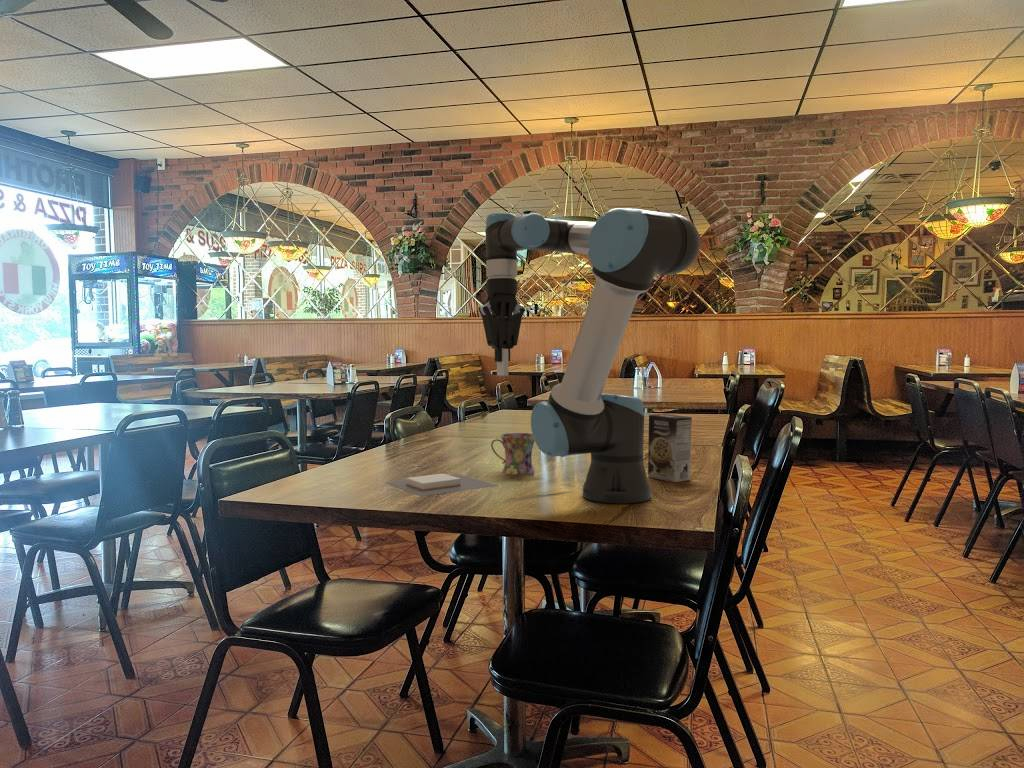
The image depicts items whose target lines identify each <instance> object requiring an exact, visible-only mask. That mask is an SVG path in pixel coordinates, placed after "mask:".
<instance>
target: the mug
mask: <svg viewBox="0 0 1024 768" xmlns="http://www.w3.org/2000/svg"><path fill="white" fill-rule="evenodd" d="M500 438H501V439H499V438H497V439H496V438H495V439H493V440H492V441H491V443H490V447H491V450H492V452H493V453H494V455H495V456H496V457H498V458H499V459H500V460H502V465H504V466H503V469H502V473H504V474H509V475H527V476H533V475H534V474H536V472H535V470H534V467H533V462H532V460H533V459H532V453H533V448H534V444H535V440H534V438H533V434H532V433H530V432H508V433H507V432H506V433H501V434H500ZM494 442H500V444H502V446H503V448H504V453H505V454H504V455H505V457H502V456H501V455H499V454H498V452H497V451H496V450H495V448H494Z"/></svg>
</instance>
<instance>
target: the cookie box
mask: <svg viewBox="0 0 1024 768" xmlns="http://www.w3.org/2000/svg"><path fill="white" fill-rule="evenodd" d="M692 421H693V420H692V417H690V416H684V415H683V416H682V415H677V414H676V415H675V414H668V413H662V414H660V413H658V414H657V413H655V414H649V415H648V442H647V443H648V445H647V446H648V449H647V450H648V451H647V452H648V458H647V460H648V461H647V478H652V479H656V480H660V481H666V482H670V483H679V482H684V481H685V482H686V481H690V479H691V450H692V447H691V446H692V445H691V444H692Z"/></svg>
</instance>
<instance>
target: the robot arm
mask: <svg viewBox="0 0 1024 768" xmlns="http://www.w3.org/2000/svg"><path fill="white" fill-rule="evenodd" d="M485 221H486V222H485V230H484V231H485V258H486V261H485V262H486V263H485V264H486V266H485V268H486V269H485V272H486V277H487V278H488V279H487V280H486V283H485V284H486V286H485V287H486V295H487V299H486V303H485V304H484V305H482V306H479V307H477V308H478V309H477V310H478V312H479V314H480V315H481V318H482V325H483V328H484V335H485V338H486V343H487V346H488V347H491V349H493V350H494V362H496V376H500V377H501V376H504V377H506V376H507V377H508V376H510V375H509V362H511V349H513V348H514V347H516V346H517V345H518V341H519V335H520V329H521V324H522V319H523V316H524V313H525V311H526V309H525V307H521V306H520V305H518V301H517V294H518V280H517V277H518V251H519V252H520V251H522V250H529V251H530V250H531V251H545V252H554V253H555V252H557V253H566V254H567V253H568V254H576V255H586V256H588V260H589V262H590V264H591V265H592V268H591V273H592V275H593V277H594V278H595V283H594V287H593V289H592V293H591V296H590V297H589V300H588V305H587V307H586V309H585V313H584V315H583V318H582V322H581V325H580V327H579V330H578V334H577V337H576V339H575V342H574V345H573V348H572V351H571V354H570V357H569V360H568V363H567V366H566V367H565V371H564V375H563V377H562V379H561V382H559V383H558V384H555V385H553V387H551V389H550V390H551V391H550V394H549V396H548V399H547V401H545V400H543V401H540V402H539V403H536V404H535V405H534V407H533V408H532V410H531V413H530V430H531V434H533V438H534V440H535V441H534V444H535V445H536V446H537V448H538V449H539V451H541V452H542V453H543V454H544V455H546V456H548V457H562V458H565V457H567V456H575V455H584V454H590V462H589V463H590V464H589V467H588V469H587V470H588V471H587V474H586V476H585V477H586V478H585V482H584V483H582V484H583V485H582V497H583V498H585V499H587V500H590V501H593V502H599V503H604V504H605V503H606V504H607V503H608V504H635V503H638V504H639V503H642V502H647V501H649V500H650V499H651V495H652V492H651V491H652V490H651V489H652V488H651V485H650V484H649V482H648V475H647V472H646V469H645V466H644V439H645V438H644V433H645V432H644V429H645V414H644V402H643V400H642V399H641V398H640V397H637V396H630V395H620V394H611V393H603V391H604V388H605V385H606V382H607V380H608V377H609V376H610V372H611V369H612V367H613V364H614V361H615V359H616V356H617V353H618V351H619V348H620V347H621V346H620V345H621V343H622V340H623V338H624V334H625V332H626V329H627V326H628V324H629V321H630V319H631V317H632V313H633V311H634V307H635V305H636V302H637V301H638V297H639V295H641V294H644V293H645V292H648V291H649V290H650V288H651V285H652V282H653V280H654V278H655V275H663V276H664V275H675V274H680V273H682V272H684V271H685V270H687V269H688V268H689V267H691V266H692V265H693V263H695V261H696V259H697V258H698V256H699V254H700V251H701V250H700V248H701V238H700V236H701V235H700V233H699V231H698V229H697V227H696V225H694V223H693V222H692V221H691V220H689V219H688V217H687V218H686V217H685V216H682V215H680V214H676V213H670V212H661V211H653V210H647V209H639V208H636V207H616V208H612V209H609V210H608V211H606V212H605V213H603V214H602V215H600V216H599V217H598V219H596V221H579V220H578V221H577V220H566V219H554V218H545V217H543V215H541V214H539V213H535V212H533V213H525V214H522V215H519V216H516V214H514V213H511V212H495V213H493V212H492V213H491V214H489V215H487V217H486V219H485Z"/></svg>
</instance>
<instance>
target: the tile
mask: <svg viewBox="0 0 1024 768" xmlns="http://www.w3.org/2000/svg"><path fill="white" fill-rule="evenodd" d="M450 475H451V474H447V473H436V474H427V475H420V476H413V477H412V476H410V477H406V478H405V480H406V485H409V486H411V487H414V488H417V489H420V490H430V489H437V488H445V487H452V486H460V485H461V479H460V478H457V477H454V476H450Z"/></svg>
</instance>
